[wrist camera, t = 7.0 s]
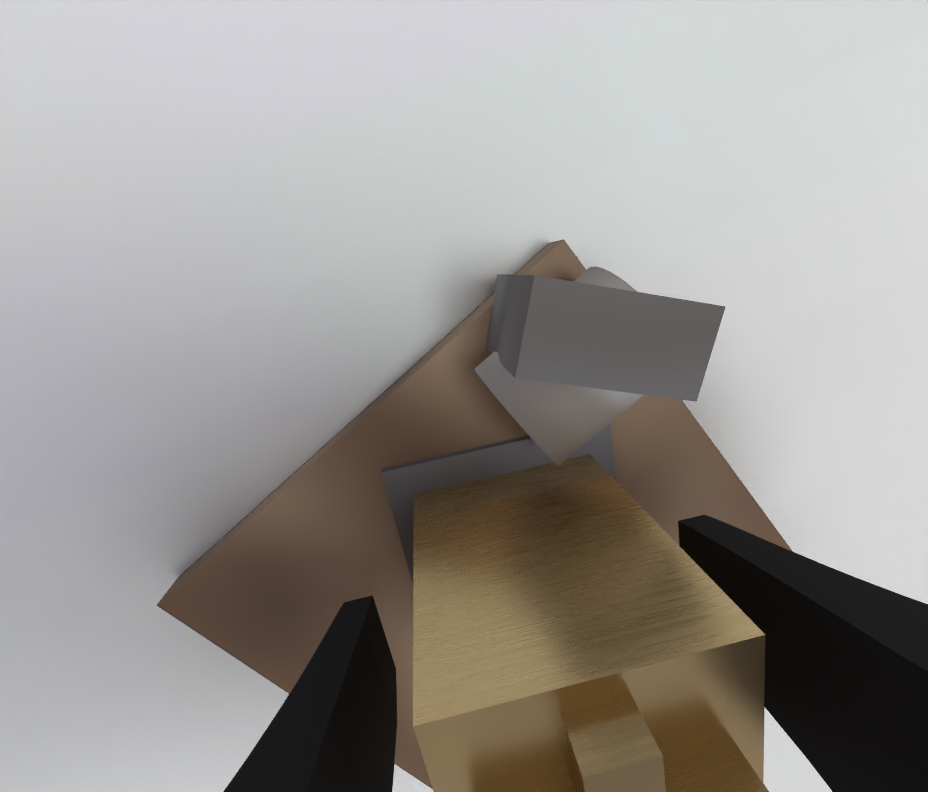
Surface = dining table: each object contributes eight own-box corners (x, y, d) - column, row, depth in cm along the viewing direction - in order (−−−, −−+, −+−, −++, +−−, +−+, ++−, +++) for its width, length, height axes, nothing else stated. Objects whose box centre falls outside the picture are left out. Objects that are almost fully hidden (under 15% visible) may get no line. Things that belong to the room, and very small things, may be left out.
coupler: (607, 597, 12) (801, 925, 6) (450, 636, 12) (488, 1019, 6) (589, 453, 11) (816, 686, 5) (413, 494, 10) (412, 796, 4)
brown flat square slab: (487, 794, 15) (512, 970, 11) (165, 568, 11) (39, 718, 8) (804, 557, 14) (955, 666, 10) (556, 213, 10) (642, 178, 6)
